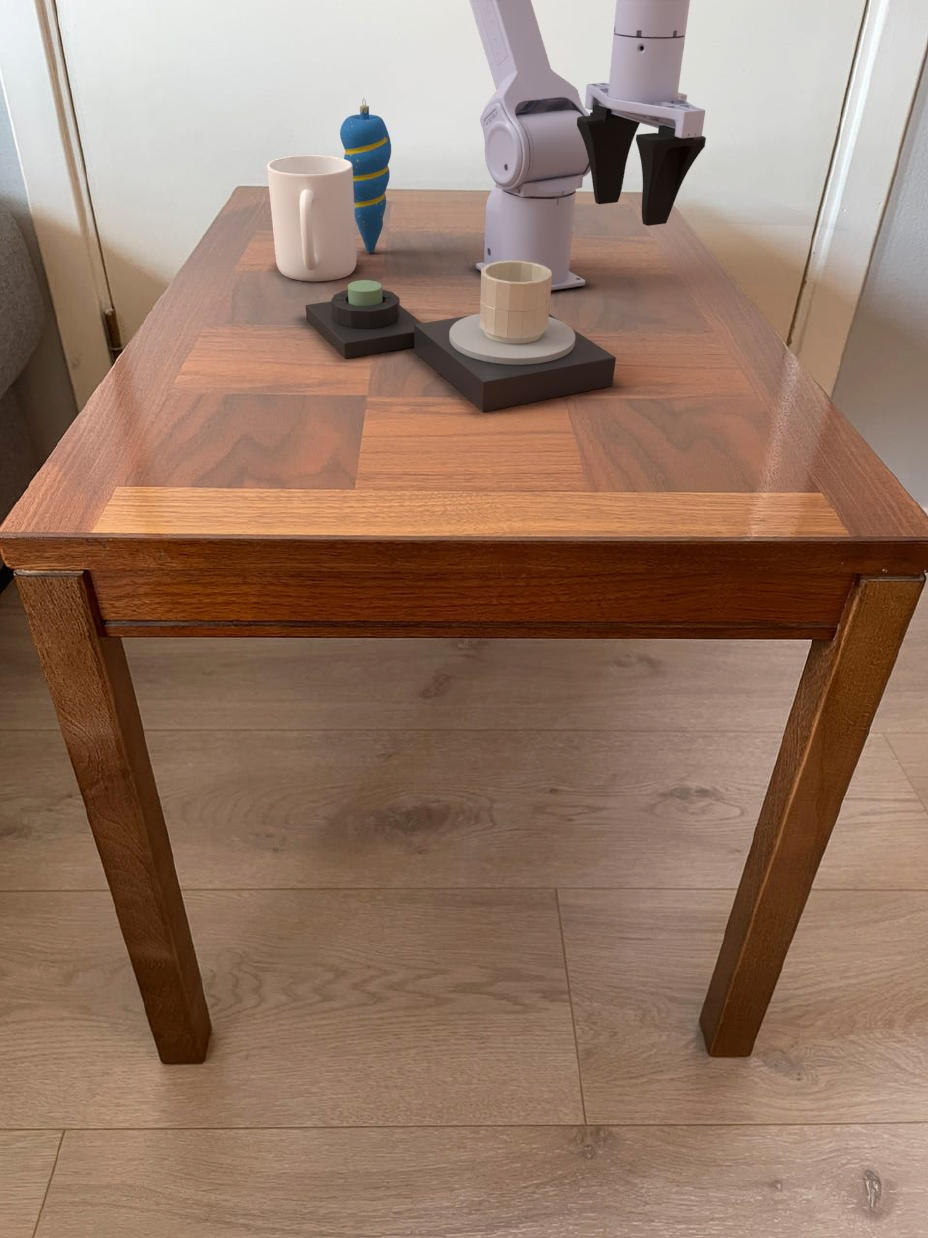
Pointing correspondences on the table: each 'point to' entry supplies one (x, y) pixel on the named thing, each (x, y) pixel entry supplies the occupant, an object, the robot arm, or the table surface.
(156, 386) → the table surface
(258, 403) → the table surface
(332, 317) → the pad
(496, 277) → the beige handleless cup
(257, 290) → the table surface
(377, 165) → the ornament
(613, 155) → the robot arm
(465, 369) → the scale
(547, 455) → the table surface
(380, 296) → the button
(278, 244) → the cup
